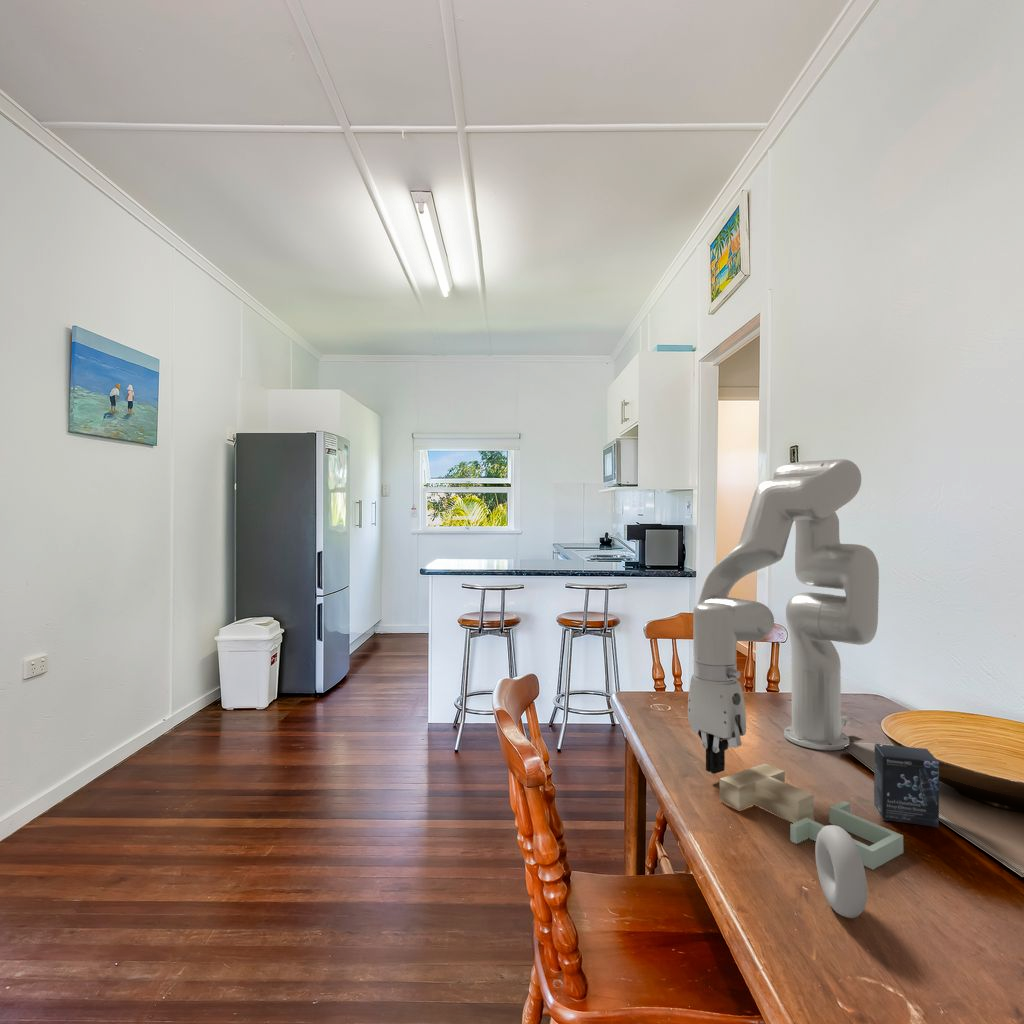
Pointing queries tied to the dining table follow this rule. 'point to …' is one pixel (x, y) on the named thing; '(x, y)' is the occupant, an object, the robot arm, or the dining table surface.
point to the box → (906, 785)
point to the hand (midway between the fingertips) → (715, 770)
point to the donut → (841, 871)
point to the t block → (767, 793)
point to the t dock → (872, 856)
